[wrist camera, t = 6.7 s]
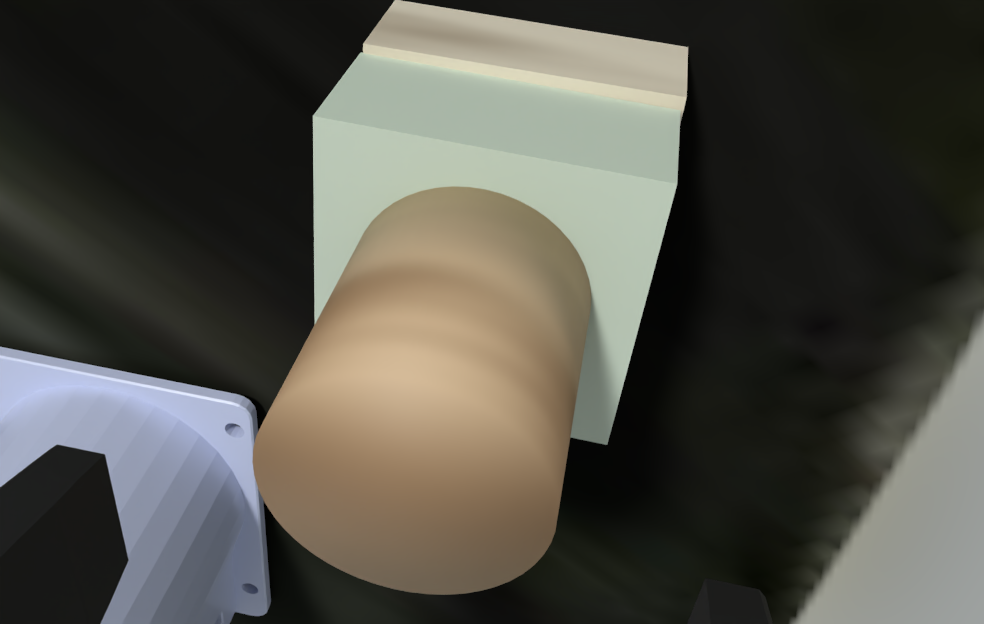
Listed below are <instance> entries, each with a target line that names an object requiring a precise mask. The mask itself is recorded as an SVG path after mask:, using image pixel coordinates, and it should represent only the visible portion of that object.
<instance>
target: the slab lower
mask: <svg viewBox="0 0 984 624" xmlns="http://www.w3.org/2000/svg"><path fill="white" fill-rule="evenodd" d="M363 53H365V54H371V55H376V56H382V57H388V58H393V59H399V60H404V61H410V62H416V63H421V64H427V65H432V66H438V67H444V68H449V69H455V70H460V71H466V72H472V73H477V74H483V75H488V76H494V77H499V78H505V79H510V80H516V81H521V82H527V83H532V84H538V85H543V86H549V87H555V88H560V89H566V90H571V91H577V92H582V93H588V94H593V95H599V96H604V97H610V98H615V99H621V100H626V101H632V102H637V103H643V104H648V105H654V106H660V107H665V108H671V109H676V110H681V113H680V123H681V119H682V115H683V111H684V107H685V103H686V99H687V69H688V47H683V46H677V45H671V44H665V43H659V42H652V41H646V40H640V39H634V38H628V37H622V36H616V35H609V34H603V33H597V32H591V31H585V30H579V29H572V28H566V27H560V26H554V25H548V24H542V23H535V22H529V21H523V20H517V19H511V18H505V17H498V16H492V15H486V14H480V13H474V12H468V11H461V10H455V9H449V8H443V7H437V6H431V5H424V4H418V3H412V2H406V1H400V0H395V1H394V2H393V4H392V5H391V7H390V8H389V9H388V11H387V12H386V13H385V15H384V16H383V17H382V19H381V20H380V22H379V23H378V24H377V26H376V27H375V28H374V30H373V31H372V33H371V34H370V35H369V37H368V38H367V39H366V41H365V42H364V43H363Z"/></svg>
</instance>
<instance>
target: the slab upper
mask: <svg viewBox="0 0 984 624" xmlns="http://www.w3.org/2000/svg"><path fill="white" fill-rule="evenodd" d="M680 113H681V110H676V109H671V108H665V107H660V106H654V105H648V104H643V103H637V102H632V101H626V100H621V99H615V98H610V97H604V96H599V95H593V94H588V93H582V92H577V91H571V90H566V89H560V88H555V87H549V86H543V85H538V84H532V83H527V82H521V81H516V80H510V79H505V78H499V77H494V76H488V75H483V74H477V73H472V72H466V71H460V70H455V69H449V68H444V67H438V66H432V65H427V64H421V63H416V62H410V61H404V60H399V59H393V58H388V57H382V56H376V55H371V54H365V53H360V54H359V55H358V57H357V58H356V59H355V61H354V62H353V63H352V65H351V66H350V67H349V69H348V70H347V71H346V73H345V74H344V75H343V77H342V78H341V79H340V81H339V82H338V83H337V85H336V86H335V87H334V89H333V90H332V91H331V93H330V94H329V95H328V97H327V98H326V99H325V101H324V102H323V103H322V105H321V106H320V107H319V109H318V110H317V111H316V113H315V114H314V115H313V174H314V292H315V324H316V322H317V320H318V318H319V316H320V314H321V312H322V310H323V309H324V307H325V305H326V303H327V301H328V299H329V297H330V295H331V294H332V292H333V290H334V288H335V286H336V284H337V282H338V280H339V278H340V277H341V275H342V273H343V271H344V269H345V267H346V265H347V263H348V262H349V260H350V258H351V256H352V254H353V252H354V250H355V248H356V247H357V245H358V243H359V241H360V239H361V237H362V235H363V233H364V232H365V230H366V229H367V227H368V226H369V225H370V223H371V222H372V221H373V220H374V219H375V218H376V217H377V216H378V215H379V214H380V213H381V212H382V211H383V210H384V209H386V208H387V207H388V206H390V205H391V204H393V203H394V202H396V201H398V200H400V199H402V198H404V197H406V196H408V195H411V194H414V193H417V192H419V191H423V190H428V189H433V188H440V187H451V186H455V187H472V188H479V189H486V190H489V191H493V192H497V193H501V194H504V195H506V196H509V197H511V198H514V199H516V200H519V201H521V202H523V203H524V204H526V205H528V206H530V207H532V208H534V209H535V210H537V211H538V212H540V213H541V214H542V215H544V216H545V217H547V218H548V219H549V220H550V221H551V222H553V223H554V224H555V225H556V226H557V227H558V228H559V229H560V230H561V231H562V232H563V233H564V234H565V235H566V237H567V238H568V239H569V240H570V241H571V243H572V244H573V246H574V247H575V249H576V250H577V252H578V253H579V255H580V257H581V259H582V261H583V263H584V266H585V268H586V271H587V275H588V278H589V282H590V288H591V310H590V316H589V323H588V329H587V335H586V342H585V348H584V354H583V360H582V367H581V373H580V379H579V386H578V392H577V398H576V404H575V411H574V417H573V423H572V430H571V436H570V437H571V438H576V439H581V440H586V441H591V442H595V443H600V444H605V445H607V444H608V440H609V436H610V433H611V429H612V425H613V422H614V418H615V414H616V410H617V407H618V403H619V399H620V396H621V392H622V388H623V384H624V381H625V377H626V373H627V369H628V366H629V362H630V358H631V355H632V351H633V347H634V343H635V340H636V336H637V332H638V328H639V325H640V321H641V317H642V314H643V310H644V306H645V302H646V299H647V295H648V291H649V287H650V284H651V280H652V276H653V273H654V269H655V265H656V261H657V258H658V254H659V250H660V247H661V243H662V239H663V235H664V232H665V228H666V224H667V220H668V217H669V213H670V209H671V206H672V202H673V198H674V194H675V191H676V187H677V179H678V157H679V135H680Z"/></svg>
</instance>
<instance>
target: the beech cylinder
mask: <svg viewBox="0 0 984 624" xmlns="http://www.w3.org/2000/svg"><path fill="white" fill-rule="evenodd" d="M590 310H591V288H590V282H589V278H588V275H587V271H586V268H585V266H584V263H583V261H582V259H581V257H580V255H579V253H578V252H577V250H576V249H575V247H574V246H573V244H572V243H571V241H570V240H569V239H568V238H567V237H566V235H565V234H564V233H563V232H562V231H561V230H560V229H559V228H558V227H557V226H556V225H555V224H554V223H553V222H551V221H550V220H549V219H548V218H547V217H545V216H544V215H542V214H541V213H540V212H538V211H537V210H535V209H534V208H532V207H530V206H528V205H526V204H524V203H523V202H521V201H519V200H516V199H514V198H511V197H509V196H506V195H504V194H501V193H497V192H493V191H489V190H486V189H479V188H472V187H455V186H451V187H440V188H433V189H428V190H423V191H419V192H417V193H414V194H411V195H408V196H406V197H404V198H402V199H400V200H398V201H396V202H394V203H393V204H391V205H390V206H388V207H387V208H386V209H384V210H383V211H382V212H381V213H380V214H379V215H378V216H377V217H376V218H375V219H374V220H373V221H372V222H371V223H370V225H369V226H368V227H367V229H366V230H365V232H364V233H363V235H362V237H361V239H360V241H359V243H358V245H357V247H356V248H355V250H354V252H353V254H352V256H351V258H350V260H349V262H348V263H347V265H346V267H345V269H344V271H343V273H342V275H341V277H340V278H339V280H338V282H337V284H336V286H335V288H334V290H333V292H332V294H331V295H330V297H329V299H328V301H327V303H326V305H325V307H324V309H323V310H322V312H321V314H320V316H319V318H318V320H317V322H316V324H315V325H314V327H313V329H312V331H311V333H310V335H309V337H308V339H307V340H306V342H305V344H304V346H303V348H302V350H301V352H300V354H299V355H298V357H297V359H296V361H295V363H294V365H293V367H292V369H291V371H290V372H289V374H288V376H287V378H286V380H285V382H284V384H283V386H282V387H281V389H280V391H279V393H278V395H277V397H276V399H275V401H274V402H273V404H272V406H271V408H270V410H269V412H268V414H267V416H266V417H265V419H264V421H263V423H262V425H261V427H260V429H259V431H258V433H257V435H256V439H255V443H254V447H253V461H252V462H253V470H254V476H255V480H256V483H257V486H258V489H259V491H260V494H261V496H262V498H263V500H264V502H265V504H266V505H267V507H268V508H269V510H270V511H271V513H272V514H273V516H274V517H275V518H276V520H277V521H278V522H279V523H280V524H281V526H282V527H283V528H284V529H285V530H286V531H287V532H288V533H289V534H290V535H291V536H292V537H293V538H294V539H295V540H296V541H298V542H299V543H300V544H301V545H303V546H304V547H305V548H306V549H308V550H309V551H310V552H312V553H313V554H315V555H316V556H318V557H319V558H321V559H322V560H324V561H325V562H327V563H329V564H331V565H333V566H334V567H336V568H338V569H340V570H342V571H344V572H346V573H348V574H351V575H353V576H355V577H357V578H360V579H363V580H366V581H368V582H371V583H374V584H377V585H381V586H385V587H388V588H392V589H397V590H402V591H407V592H414V593H422V594H440V595H449V594H464V593H471V592H477V591H482V590H486V589H489V588H493V587H496V586H499V585H501V584H504V583H507V582H509V581H511V580H513V579H515V578H516V577H518V576H520V575H522V574H523V573H525V572H526V571H527V570H529V569H530V568H531V567H532V566H534V565H535V564H536V563H537V561H538V560H539V559H540V558H541V557H542V556H543V555H544V553H545V552H546V550H547V549H548V547H549V545H550V544H551V541H552V538H553V536H554V533H555V530H556V524H557V518H558V511H559V505H560V499H561V493H562V486H563V480H564V474H565V467H566V461H567V455H568V448H569V442H570V436H571V430H572V423H573V417H574V411H575V404H576V398H577V392H578V386H579V379H580V373H581V367H582V360H583V354H584V348H585V342H586V335H587V329H588V323H589V316H590Z"/></svg>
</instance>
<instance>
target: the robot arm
mask: <svg viewBox="0 0 984 624" xmlns="http://www.w3.org/2000/svg"><path fill="white" fill-rule="evenodd" d="M235 424H237V425H239V426H240V427H239V426H237V425H235ZM257 433H258V424H257V411H256V408H255V406H254V405H253V403H252V402H251V401H250V400H249V399H247V398H246V397H244V396H241V395H238V394H234V393H229V392H224V391H219V390H214V389H209V388H204V387H199V386H194V385H189V384H184V383H179V382H174V381H169V380H164V379H159V378H154V377H149V376H144V375H139V374H134V373H129V372H124V371H119V370H114V369H109V368H104V367H99V366H94V365H89V364H84V363H79V362H74V361H69V360H64V359H59V358H54V357H49V356H44V355H39V354H34V353H29V352H24V351H19V350H14V349H9V348H4V347H0V624H230V622H231V620H232V618H233V615H234V613H235V612H238V613H242V614H247V615H251V616H262V615H264V614H266V613H267V611H268V609H269V606H270V603H271V595H270V582H269V569H268V556H267V542H266V529H265V516H264V503H263V498H262V496H261V494H260V491H259V489H258V486H257V483H256V480H255V476H254V470H253V462H252V461H253V447H254V443H255V439H256V435H257ZM687 624H773V622H772V619H771V615H770V612H769V608H768V605H767V601H766V597H765V596H764V595H763V594H762V592H761V591H760V590H759V589H755V588H750V587H745V586H741V585H736V584H731V583H726V582H721V581H716V580H712V579H707V578H705V580H704V583H703V585H702V588H701V590H700V593H699V595H698V598H697V600H696V603H695V605H694V608H693V610H692V613H691V615H690V618H689V620H688V623H687Z"/></svg>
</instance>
